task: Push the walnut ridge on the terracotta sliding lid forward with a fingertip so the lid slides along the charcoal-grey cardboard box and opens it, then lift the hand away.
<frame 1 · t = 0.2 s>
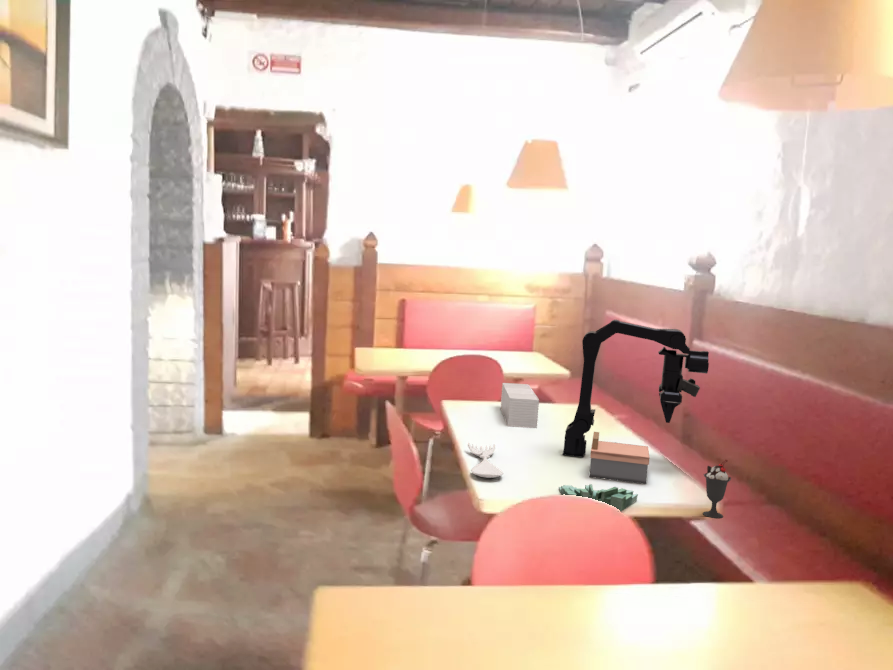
hand: (667, 419, 242), 15 cm above the table, tool pointing down, fingers open, 9 cm apart
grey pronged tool: (484, 467, 230), on the table
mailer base: (617, 474, 230), on the table
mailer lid: (620, 446, 229), point 9 cm above the table, slide at 0.0 cm
stack of papers: (517, 418, 300), on the table
sundae: (713, 516, 198), on the table
money: (601, 503, 204), on the table
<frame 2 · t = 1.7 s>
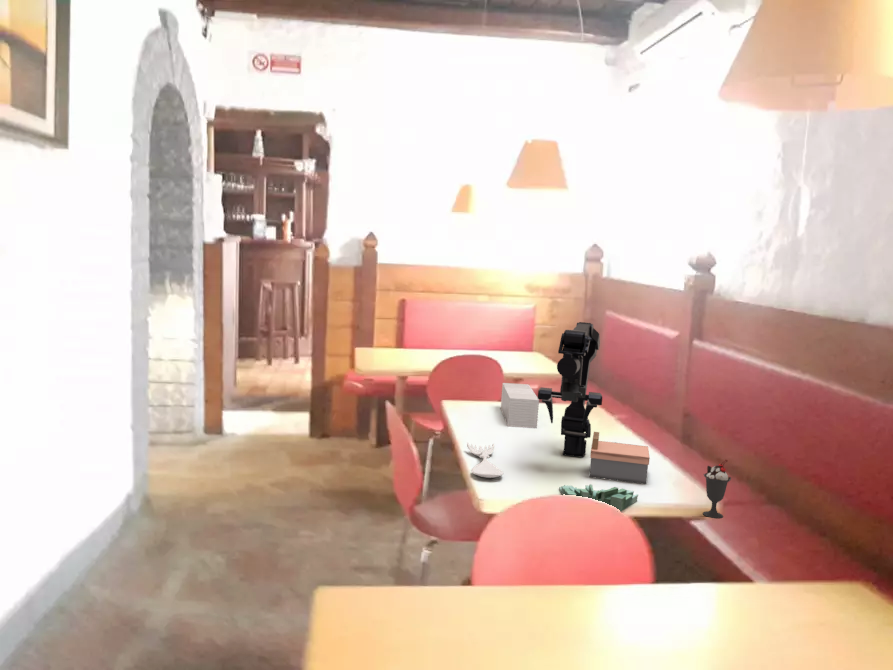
hand: (567, 424, 232), 13 cm above the table, tool pointing down, fingers open, 9 cm apart
nothing on the table moved.
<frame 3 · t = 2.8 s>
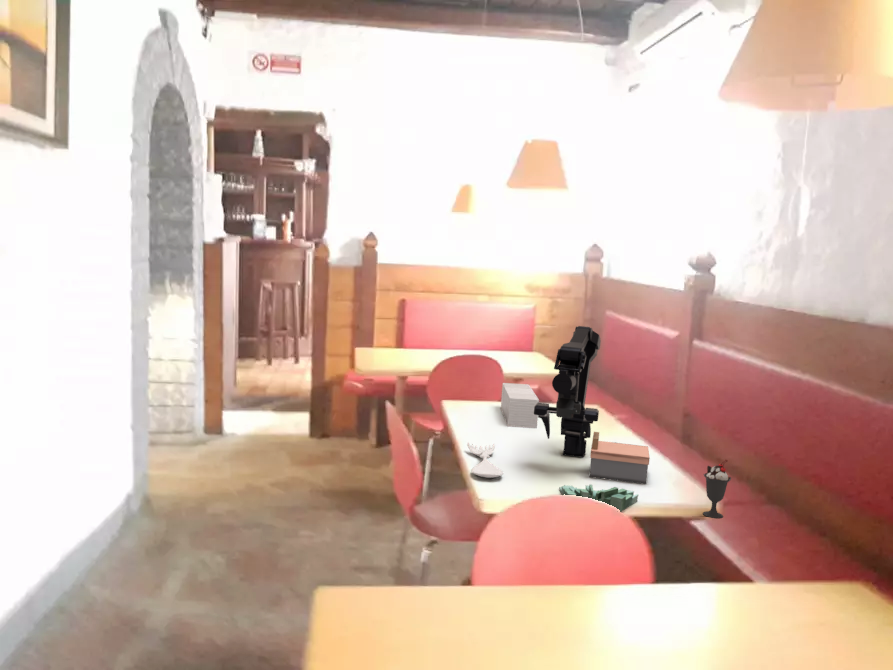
hand: (564, 440, 232), 8 cm above the table, tool pointing down, fingers open, 9 cm apart
nothing on the table moved.
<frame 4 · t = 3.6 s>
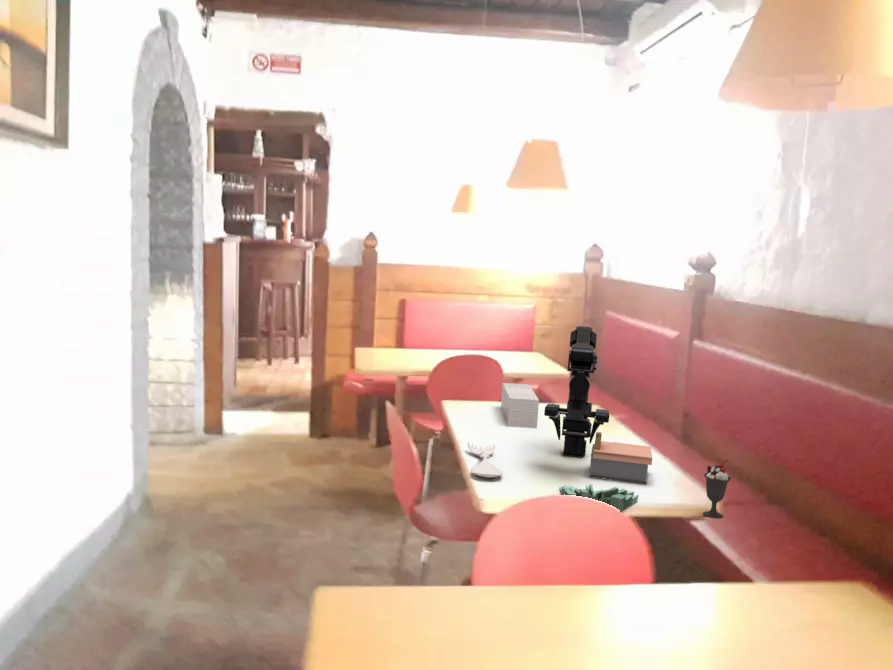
hand: (574, 441, 232), 9 cm above the table, tool pointing down, fingers open, 9 cm apart
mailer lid: (622, 447, 229), point 9 cm above the table, slide at 0.7 cm, touching gripper
everything else where it was.
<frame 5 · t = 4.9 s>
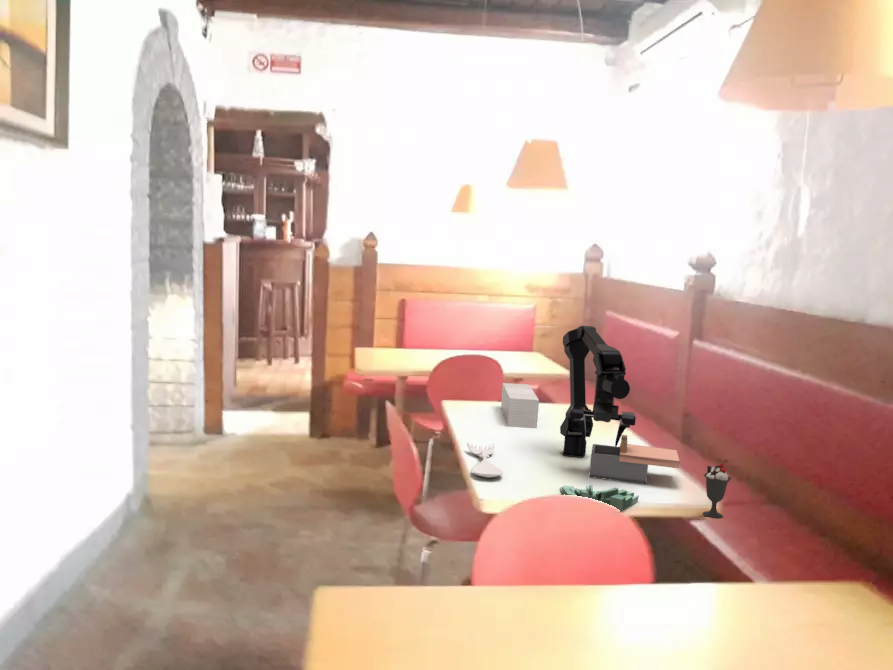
hand: (600, 444, 230), 9 cm above the table, tool pointing down, fingers open, 9 cm apart
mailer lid: (648, 450, 227), point 9 cm above the table, slide at 8.2 cm, touching gripper
everything else where it was.
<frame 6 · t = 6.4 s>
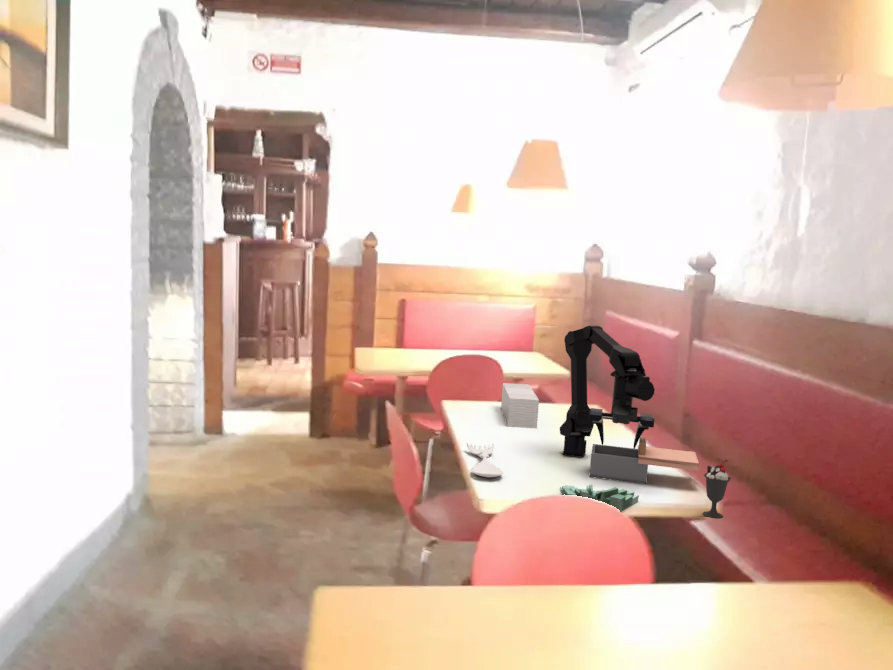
hand: (618, 446, 229), 9 cm above the table, tool pointing down, fingers open, 9 cm apart
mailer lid: (667, 452, 226), point 9 cm above the table, slide at 13.4 cm, touching gripper
everything else where it was.
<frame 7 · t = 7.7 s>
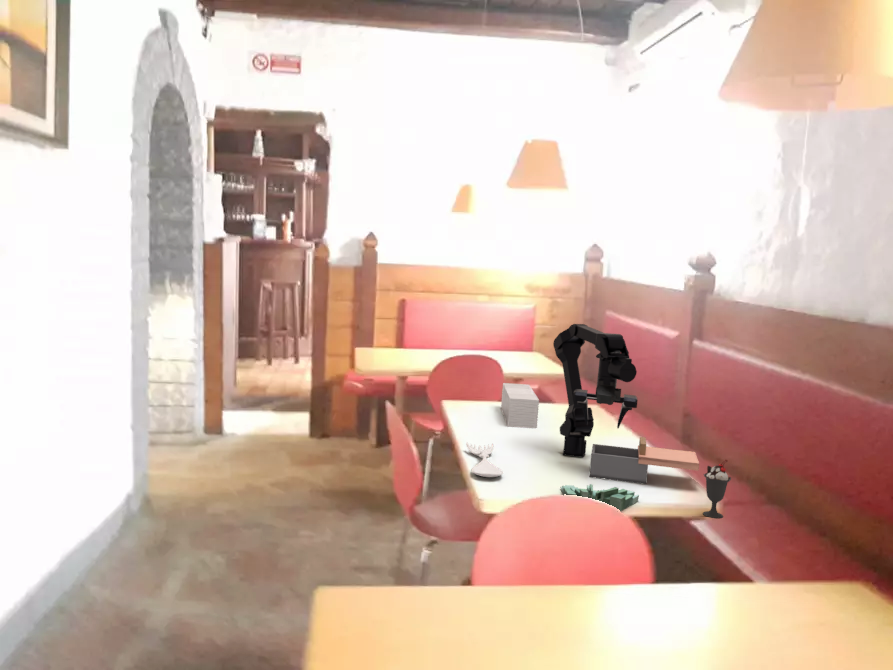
hand: (602, 426, 235), 13 cm above the table, tool pointing down, fingers open, 9 cm apart
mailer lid: (667, 452, 226), point 9 cm above the table, slide at 13.5 cm
everything else where it was.
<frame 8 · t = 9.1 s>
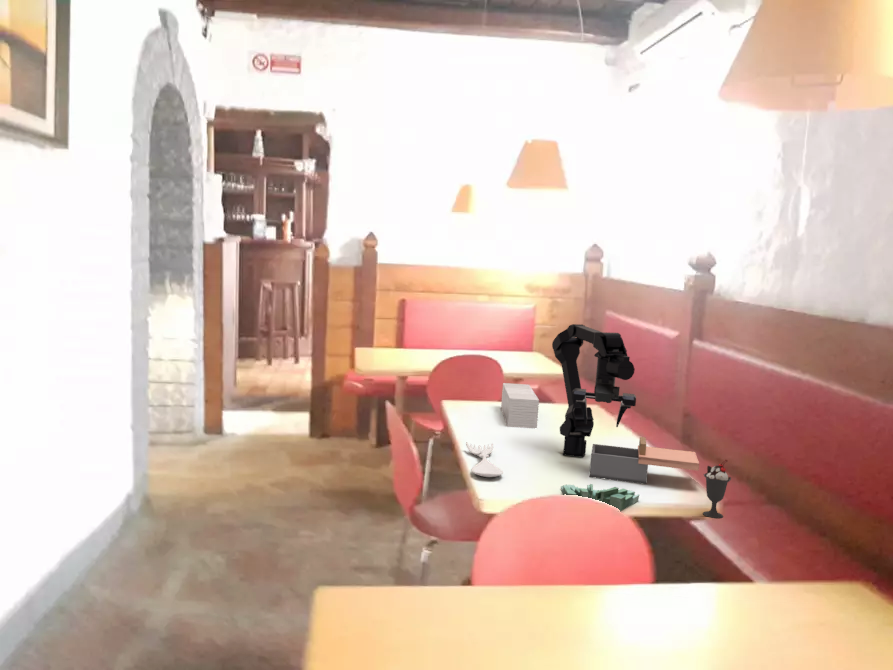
hand: (601, 425, 235), 13 cm above the table, tool pointing down, fingers open, 9 cm apart
nothing on the table moved.
at the end: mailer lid slide at 13.5 cm; the gripper is holding nothing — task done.
